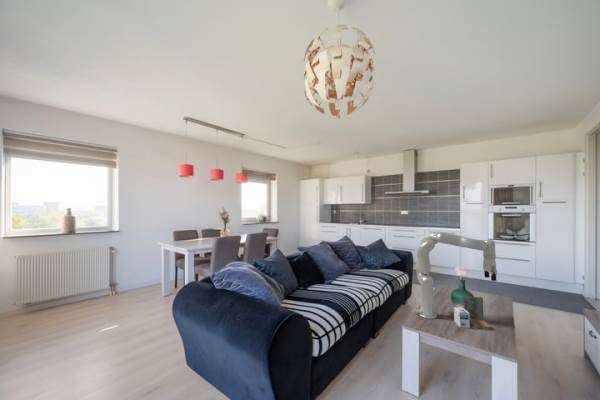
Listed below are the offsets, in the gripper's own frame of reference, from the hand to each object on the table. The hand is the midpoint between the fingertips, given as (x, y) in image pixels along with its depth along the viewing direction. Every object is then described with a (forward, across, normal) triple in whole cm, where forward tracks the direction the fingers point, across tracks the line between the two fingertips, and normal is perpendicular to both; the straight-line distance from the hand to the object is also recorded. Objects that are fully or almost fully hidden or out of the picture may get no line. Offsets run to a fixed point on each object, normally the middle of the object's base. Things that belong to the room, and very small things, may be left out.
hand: (490, 279), depth 191 cm
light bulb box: (+31, +12, -25) cm, 42 cm away
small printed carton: (+31, +11, -14) cm, 36 cm away
